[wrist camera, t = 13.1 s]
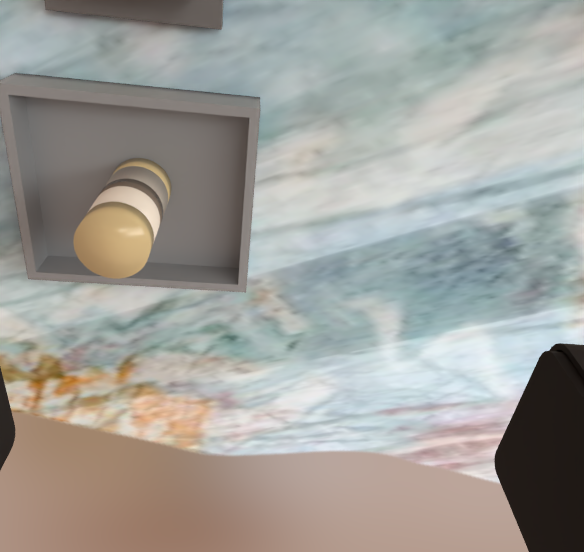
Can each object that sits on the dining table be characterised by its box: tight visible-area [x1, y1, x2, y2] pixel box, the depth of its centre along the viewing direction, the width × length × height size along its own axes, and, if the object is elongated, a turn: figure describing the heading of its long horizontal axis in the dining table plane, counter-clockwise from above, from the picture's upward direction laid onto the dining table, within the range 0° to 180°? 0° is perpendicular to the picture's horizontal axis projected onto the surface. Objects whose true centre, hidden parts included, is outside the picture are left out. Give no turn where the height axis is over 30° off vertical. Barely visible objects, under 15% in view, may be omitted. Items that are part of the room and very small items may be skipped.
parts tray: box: [0, 73, 260, 292], centre depth 36 cm, size 15×13×3 cm
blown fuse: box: [73, 158, 171, 279], centre depth 33 cm, size 4×4×9 cm
